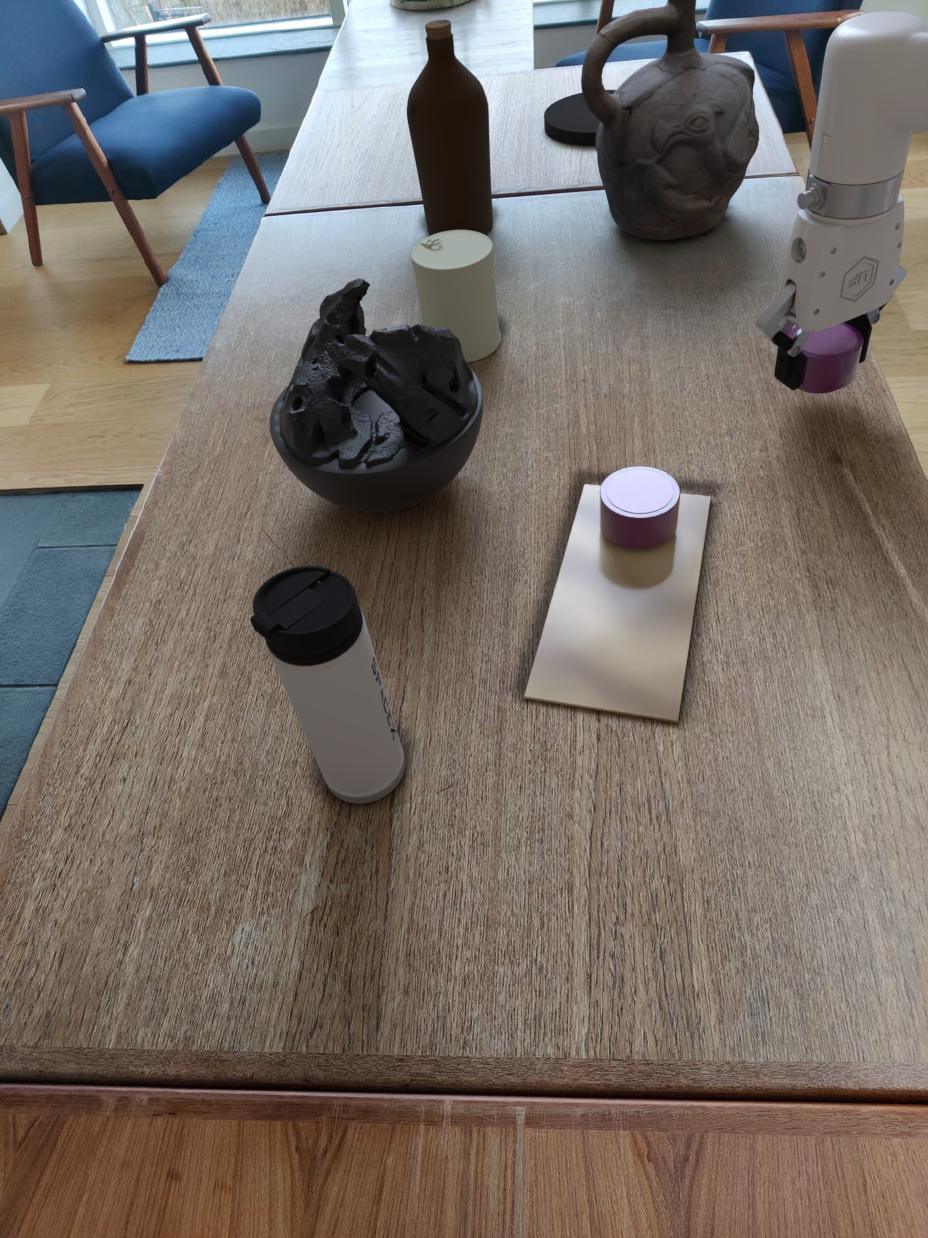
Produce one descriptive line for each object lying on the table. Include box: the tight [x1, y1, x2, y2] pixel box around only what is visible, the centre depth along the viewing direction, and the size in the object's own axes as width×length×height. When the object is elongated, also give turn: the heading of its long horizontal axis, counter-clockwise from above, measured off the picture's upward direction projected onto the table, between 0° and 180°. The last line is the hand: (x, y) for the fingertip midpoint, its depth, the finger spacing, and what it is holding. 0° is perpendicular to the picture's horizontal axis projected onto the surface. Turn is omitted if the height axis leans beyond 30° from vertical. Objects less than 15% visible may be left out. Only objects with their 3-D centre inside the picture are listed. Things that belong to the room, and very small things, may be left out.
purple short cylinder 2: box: [788, 323, 863, 395], centre depth 87 cm, size 7×7×5 cm
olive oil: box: [406, 19, 494, 236], centre depth 116 cm, size 11×11×25 cm
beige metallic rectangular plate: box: [523, 483, 712, 724], centre depth 77 cm, size 26×12×1 cm, turn 164°
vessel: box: [580, 0, 760, 241], centre depth 108 cm, size 24×22×30 cm
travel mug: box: [249, 565, 406, 805], centre depth 60 cm, size 6×7×20 cm
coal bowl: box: [269, 277, 484, 513], centre depth 82 cm, size 20×20×19 cm
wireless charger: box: [543, 89, 617, 147], centre depth 144 cm, size 18×18×2 cm
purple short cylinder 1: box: [599, 465, 681, 549], centre depth 80 cm, size 7×7×5 cm
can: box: [410, 230, 502, 364], centre depth 101 cm, size 9×9×12 cm
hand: (819, 368), depth 88 cm, fingers closed on purple short cylinder 2, 7 cm apart
